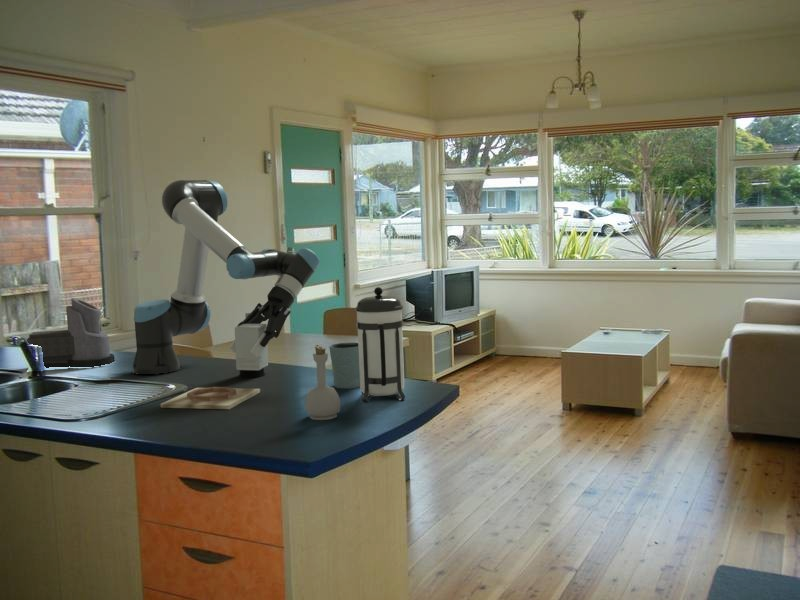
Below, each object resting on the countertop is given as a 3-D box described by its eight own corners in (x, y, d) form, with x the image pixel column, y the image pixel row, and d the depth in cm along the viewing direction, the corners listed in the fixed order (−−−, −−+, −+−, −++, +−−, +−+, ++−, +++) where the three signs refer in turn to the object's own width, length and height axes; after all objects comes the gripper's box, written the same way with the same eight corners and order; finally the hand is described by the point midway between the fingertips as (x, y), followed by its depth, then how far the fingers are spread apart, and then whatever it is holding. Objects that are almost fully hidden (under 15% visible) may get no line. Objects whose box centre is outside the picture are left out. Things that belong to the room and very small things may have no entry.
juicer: (120, 359, 296) (115, 293, 293) (116, 366, 281) (110, 297, 278) (32, 365, 289) (26, 298, 286) (23, 374, 273) (17, 302, 271)
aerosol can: (262, 377, 251) (258, 314, 249) (236, 378, 251) (232, 315, 249) (267, 372, 259) (263, 311, 257) (242, 373, 259) (238, 311, 257)
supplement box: (259, 370, 229) (257, 327, 228) (235, 370, 231) (233, 326, 229) (269, 365, 237) (267, 323, 235) (245, 365, 238) (243, 323, 237)
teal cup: (344, 390, 228) (342, 349, 226) (324, 385, 235) (322, 345, 234) (372, 384, 234) (370, 344, 233) (352, 380, 242) (350, 340, 240)
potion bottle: (323, 410, 205) (319, 341, 203) (348, 415, 199) (345, 343, 197) (298, 418, 198) (294, 346, 196) (323, 423, 193) (320, 349, 191)
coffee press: (341, 399, 217) (335, 289, 214) (383, 388, 228) (379, 283, 225) (385, 408, 205) (380, 291, 202) (428, 396, 216) (424, 286, 213)
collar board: (160, 407, 215) (160, 399, 215) (196, 391, 235) (196, 383, 234) (228, 409, 210) (228, 401, 210) (260, 392, 230) (259, 384, 229)
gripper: (315, 303, 235) (274, 364, 225) (269, 298, 250) (229, 356, 241) (300, 286, 230) (258, 348, 221) (254, 283, 246) (213, 341, 236)
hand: (243, 352), depth 231 cm, fingers closed on supplement box, 10 cm apart
